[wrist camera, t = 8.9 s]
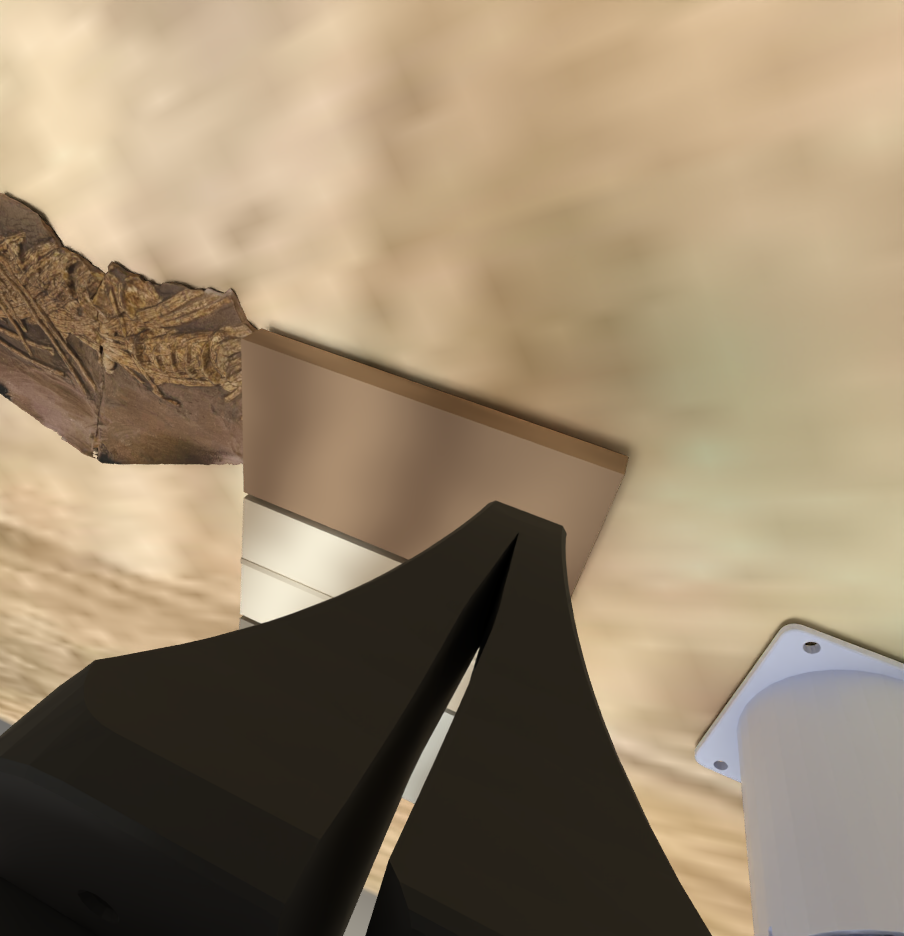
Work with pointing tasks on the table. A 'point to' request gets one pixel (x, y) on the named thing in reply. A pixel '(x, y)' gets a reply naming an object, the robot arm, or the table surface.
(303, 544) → the ash board
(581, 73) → the table surface
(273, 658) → the robot arm
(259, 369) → the walnut plank
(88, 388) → the fossil skeleton slab
